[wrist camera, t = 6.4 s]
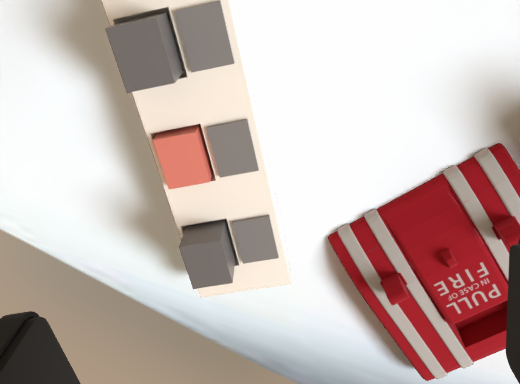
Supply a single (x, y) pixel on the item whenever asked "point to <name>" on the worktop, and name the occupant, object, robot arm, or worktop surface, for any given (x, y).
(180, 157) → the button
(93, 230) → the worktop surface
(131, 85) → the button
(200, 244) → the button
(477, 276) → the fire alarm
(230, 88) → the button panel
